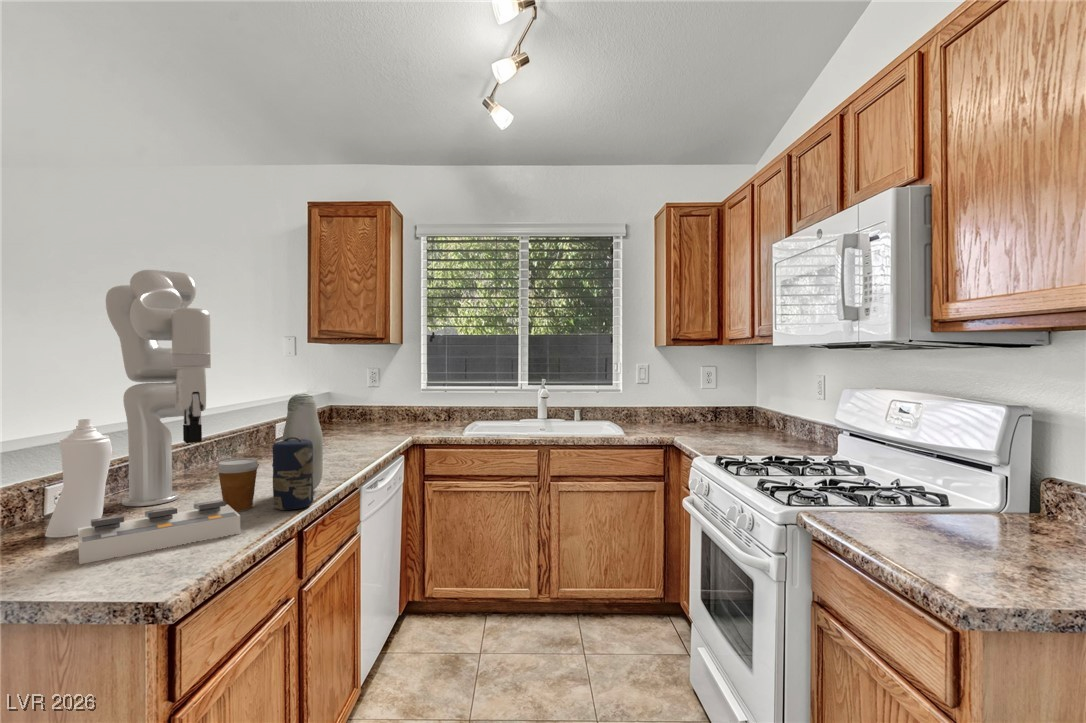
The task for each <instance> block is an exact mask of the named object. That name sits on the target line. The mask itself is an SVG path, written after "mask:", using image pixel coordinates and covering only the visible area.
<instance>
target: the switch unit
mask: <svg viewBox="0 0 1086 723" xmlns="http://www.w3.org/2000/svg"><path fill="white" fill-rule="evenodd" d="M234 534H236V535H240V534H241V514H239V513H238V511H235V510H234V509H232V508H231V507H230V506H229V505H226V506H222V507H215V508H209V509H203V510H198V509H192V510H183V511H177V514H171V515H165V516H159V517H152V518H147V517H145V516H144V517H140V518H134V519H127V520H124V522H121V523H114V524H108V525H102V526H95V527H92V526H88V527H82V528H78V535H77V542H78V543H77V550H78V564H79V565H83V564H88V563H93V562H97V561H98V562H99V561H103V560H109V559H115V558H120V557H125V556H129V555H130V556H131V555H135V554H140V553H145V552H146V553H147V552H152V551H156V549H157V550H162V548H163V549H167V547H168V548H172V546H173V547H177V545H178V546H183V545H182V544H184V545H187V544H186V543H189V544H192V543H191V542H194V543H197V542H196V541H200V542H203V541H202V540H205V541H207V540H206V539H210V540H213V539H212V538H215V539H219V538H218V537H221V538H224V537H223V536H226V537H229V536H228V535H231V536H235V535H234ZM151 550H152V551H151ZM114 557H115V558H114Z"/></svg>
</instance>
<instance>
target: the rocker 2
mask: <svg viewBox="0 0 1086 723" xmlns="http://www.w3.org/2000/svg"><path fill="white" fill-rule="evenodd" d="M222 506H226V501H223V500H221V499H220V500H219V499H218V500H211V501H205V502H204V501H203V502H197V503H193V510H196V509H198V510H203V509H209V508H215V507H222Z"/></svg>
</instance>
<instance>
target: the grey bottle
mask: <svg viewBox="0 0 1086 723" xmlns="http://www.w3.org/2000/svg"><path fill="white" fill-rule="evenodd" d="M286 409H287V413H286V414H287V415H286V420H285V424H284V428H283V433H282V441H284V440H285V439H287V438H290V437H295V438H298V439H306V440H310V441H312V443H313V491H315V489H317V487H319V485H320V483H321V481H322V478H323V470H324V469H323V461H324V458H323V457H324V456H323V454H324V453H323V451H324V444H323V443H324V441H323V440H324V438H323V436H324V435H323V430H322V426H321V424H320V421H319V420H320V419H319V416H318V415H319V414H318V411H317V402H316V399H315V397H313V395H311V394H309V393H308V394H307V393H300V394H299V393H298V394H295V395H292V396H291V397H290V398H289V399H288V402H287V408H286ZM289 440H297V439H289Z"/></svg>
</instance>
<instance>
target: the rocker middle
mask: <svg viewBox="0 0 1086 723" xmlns="http://www.w3.org/2000/svg"><path fill="white" fill-rule="evenodd" d="M177 512H178V508H176V507H174V506H173V507H172V506H171V507H166V508H157V509H152V510H145V511H144V518H145V517H147V518H152V517H159V516H165V515H171V514H177Z"/></svg>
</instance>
